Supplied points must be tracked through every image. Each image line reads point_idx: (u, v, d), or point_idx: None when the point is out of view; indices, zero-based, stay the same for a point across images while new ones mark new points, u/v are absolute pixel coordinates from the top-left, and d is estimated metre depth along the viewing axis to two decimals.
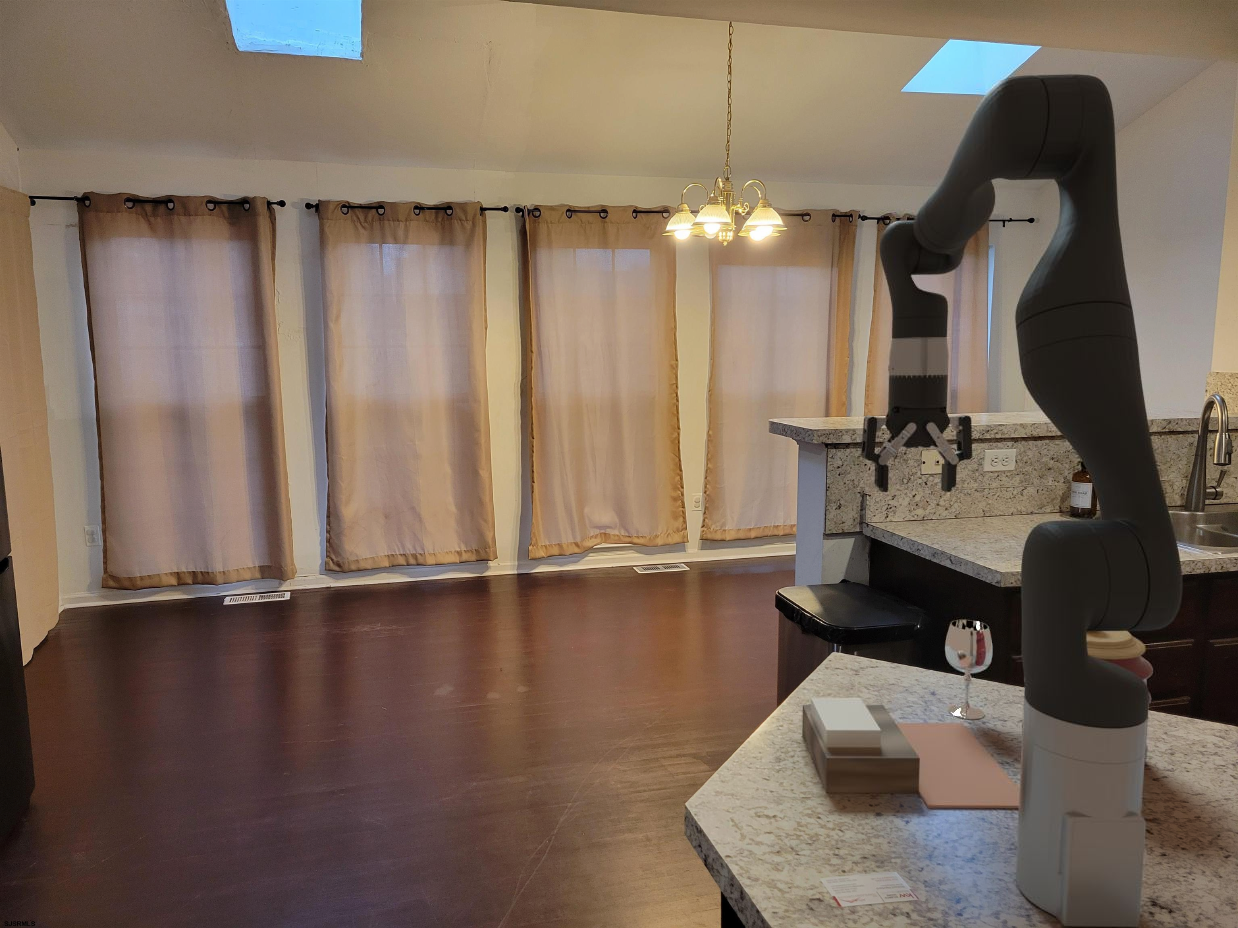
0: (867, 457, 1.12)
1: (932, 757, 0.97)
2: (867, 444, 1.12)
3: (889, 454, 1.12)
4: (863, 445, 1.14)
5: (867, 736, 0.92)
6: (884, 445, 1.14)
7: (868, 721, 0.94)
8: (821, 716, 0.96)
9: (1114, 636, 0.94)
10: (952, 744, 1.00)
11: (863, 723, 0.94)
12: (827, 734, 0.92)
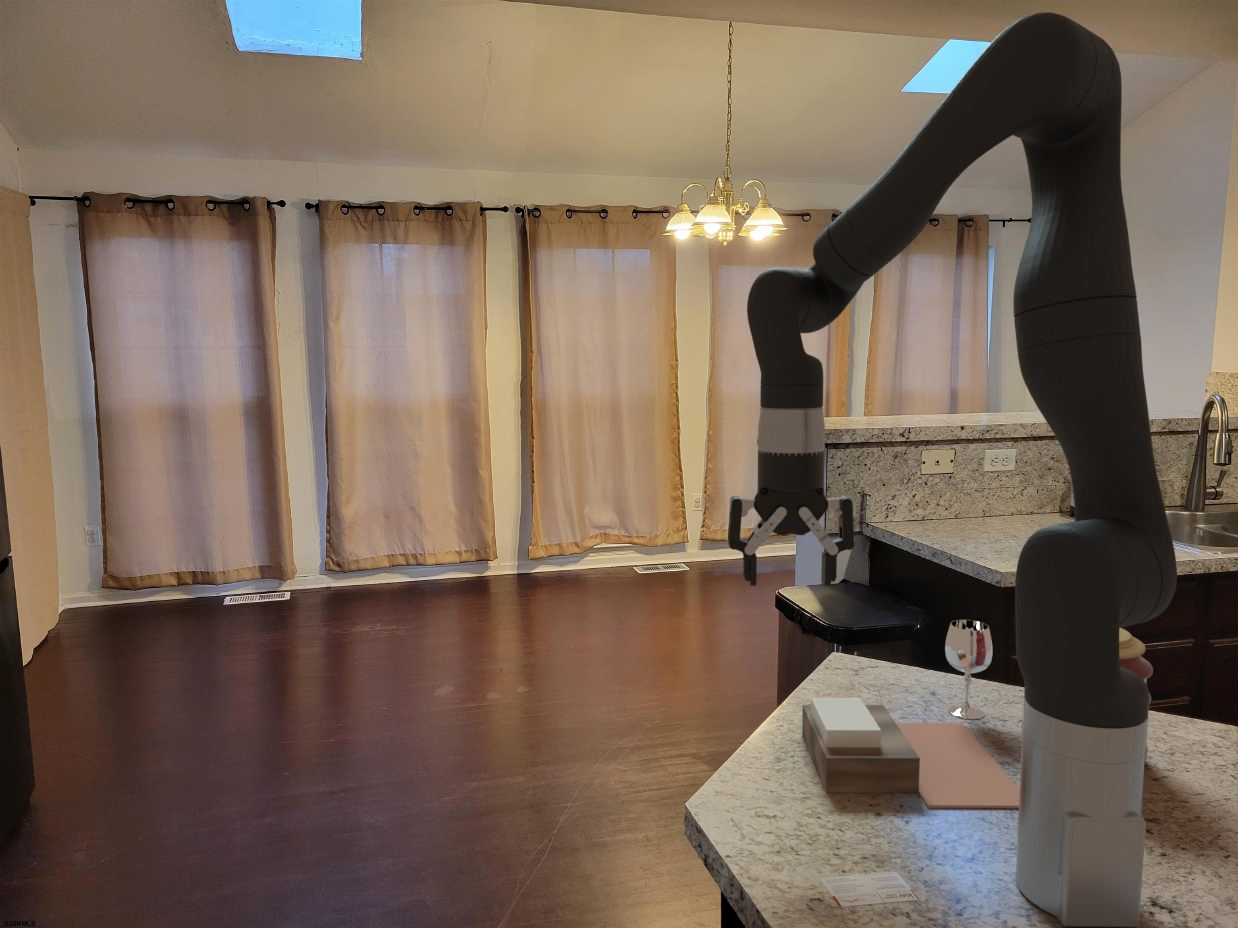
0: (731, 546, 0.95)
1: (932, 757, 0.97)
2: (731, 531, 0.95)
3: (756, 543, 0.95)
4: (729, 530, 0.97)
5: (867, 736, 0.92)
6: (754, 530, 0.97)
7: (868, 721, 0.94)
8: (821, 716, 0.96)
9: None
10: (952, 744, 1.00)
11: (863, 723, 0.94)
12: (827, 734, 0.92)
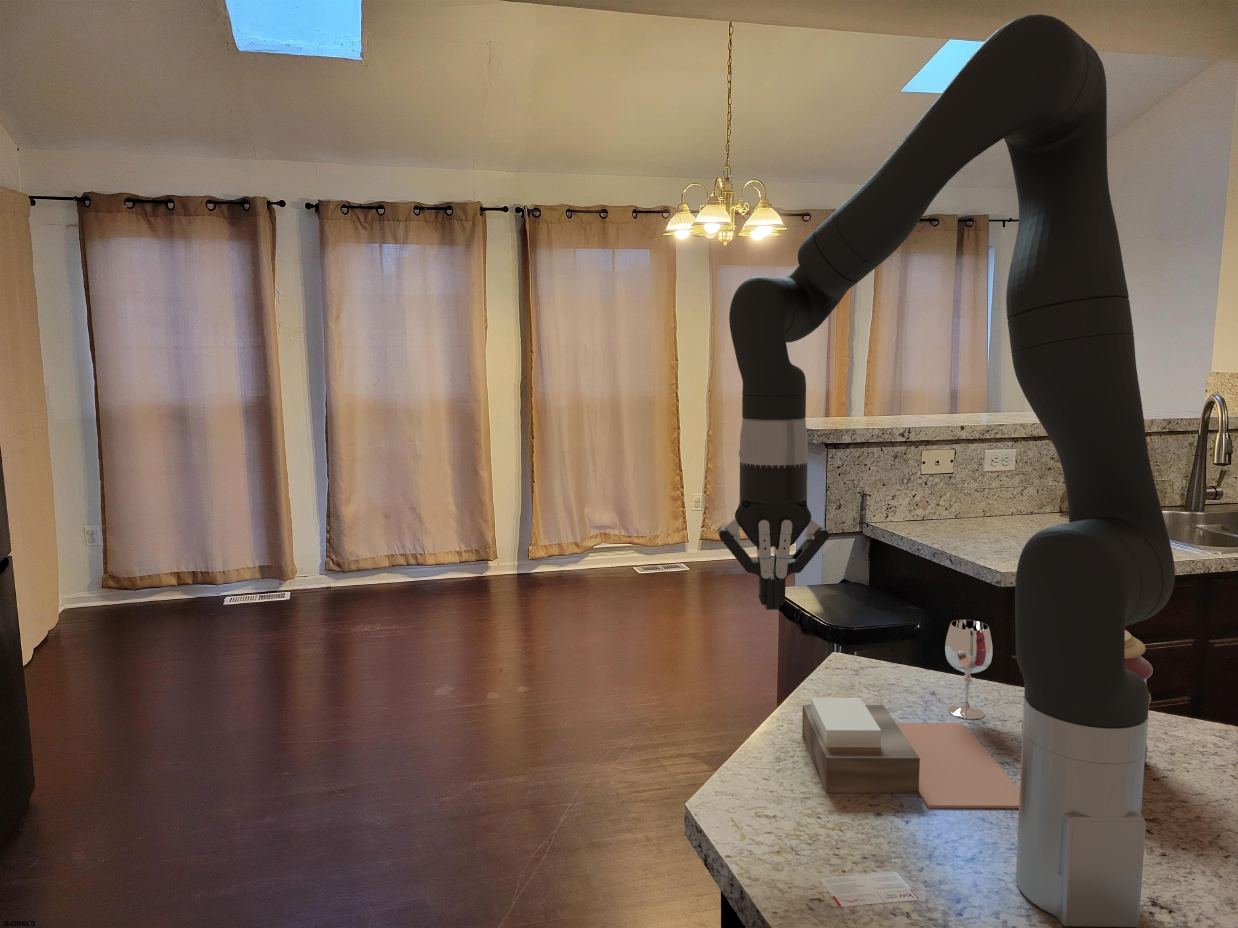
0: (747, 569, 0.93)
1: (932, 757, 0.97)
2: (738, 559, 0.93)
3: (766, 563, 0.93)
4: None
5: (867, 736, 0.92)
6: (757, 553, 0.95)
7: (868, 721, 0.94)
8: (821, 716, 0.96)
9: None
10: (952, 744, 1.00)
11: (863, 723, 0.94)
12: (827, 734, 0.92)
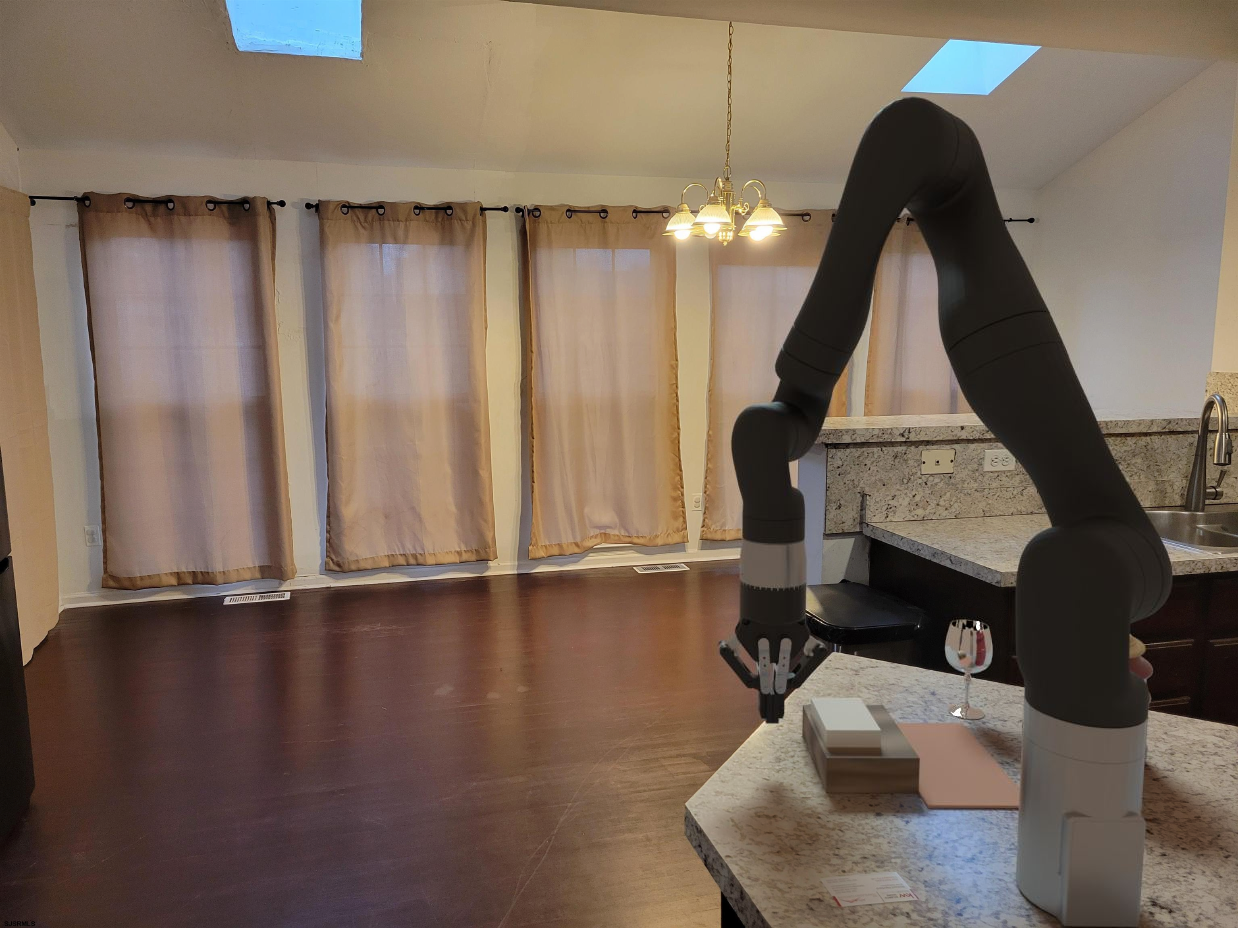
0: (747, 685, 0.95)
1: (932, 757, 0.97)
2: (739, 675, 0.95)
3: (766, 679, 0.95)
4: None
5: (867, 736, 0.92)
6: (757, 667, 0.97)
7: (868, 721, 0.94)
8: (821, 716, 0.96)
9: None
10: (952, 744, 1.00)
11: (863, 723, 0.94)
12: (827, 734, 0.92)
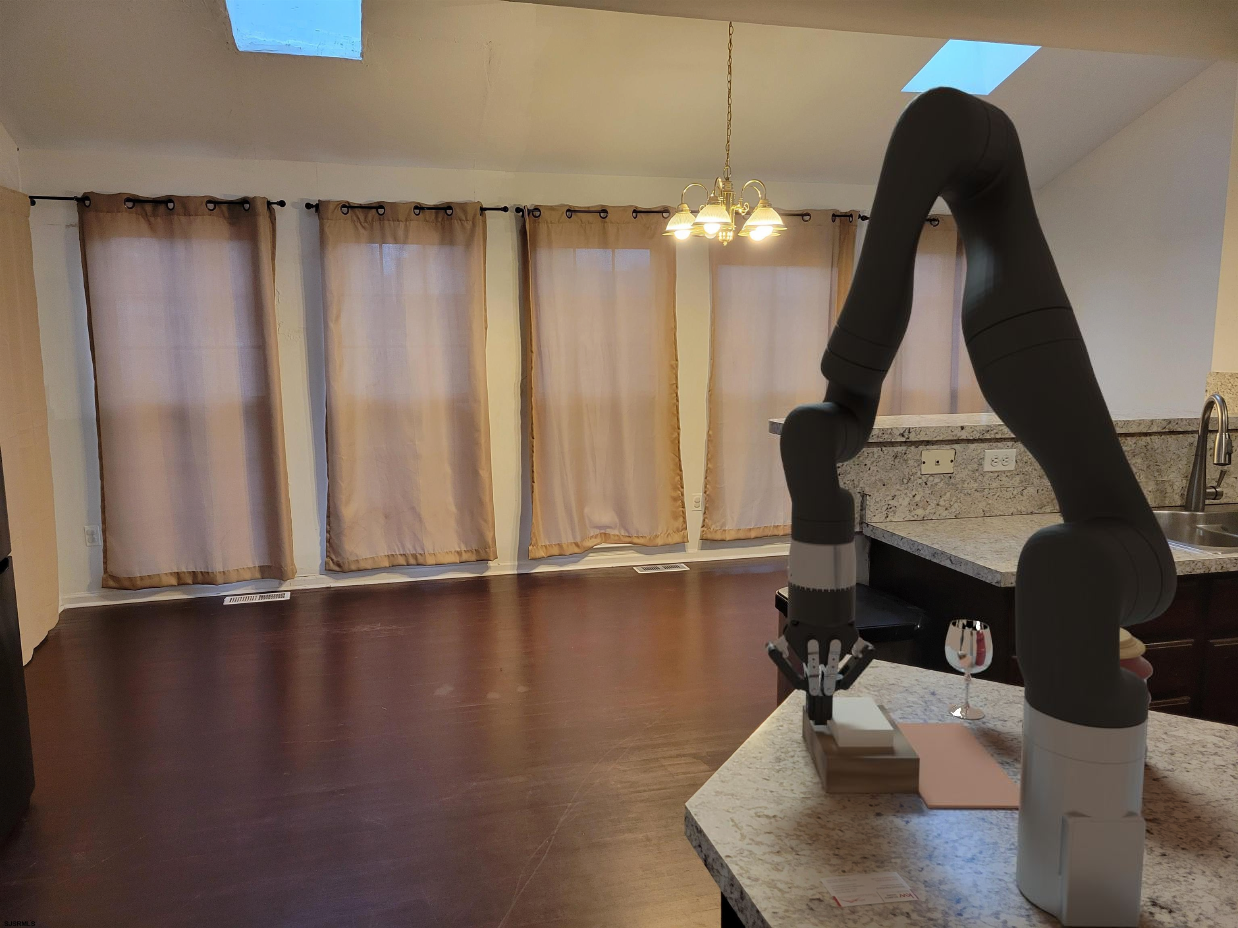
0: (796, 686, 0.95)
1: (932, 757, 0.97)
2: (787, 677, 0.95)
3: (815, 681, 0.95)
4: None
5: (879, 735, 0.92)
6: (804, 668, 0.96)
7: (880, 721, 0.94)
8: (833, 716, 0.96)
9: None
10: (952, 744, 1.00)
11: (875, 722, 0.94)
12: (839, 734, 0.92)
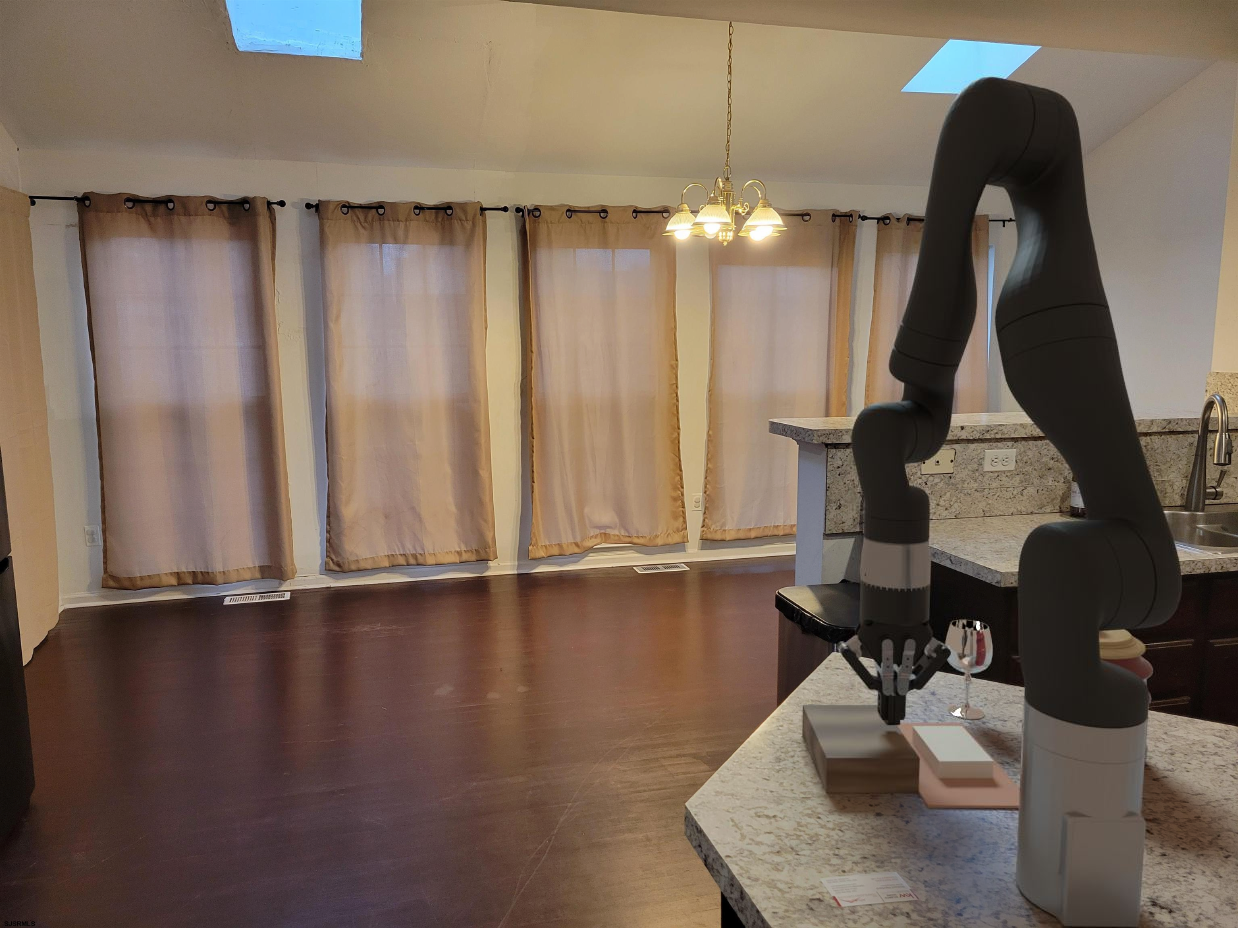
0: (869, 686, 0.94)
1: None
2: (861, 676, 0.94)
3: (888, 681, 0.94)
4: None
5: (952, 772, 0.92)
6: (876, 668, 0.96)
7: None
8: None
9: (1114, 636, 0.94)
10: None
11: None
12: (992, 773, 0.92)
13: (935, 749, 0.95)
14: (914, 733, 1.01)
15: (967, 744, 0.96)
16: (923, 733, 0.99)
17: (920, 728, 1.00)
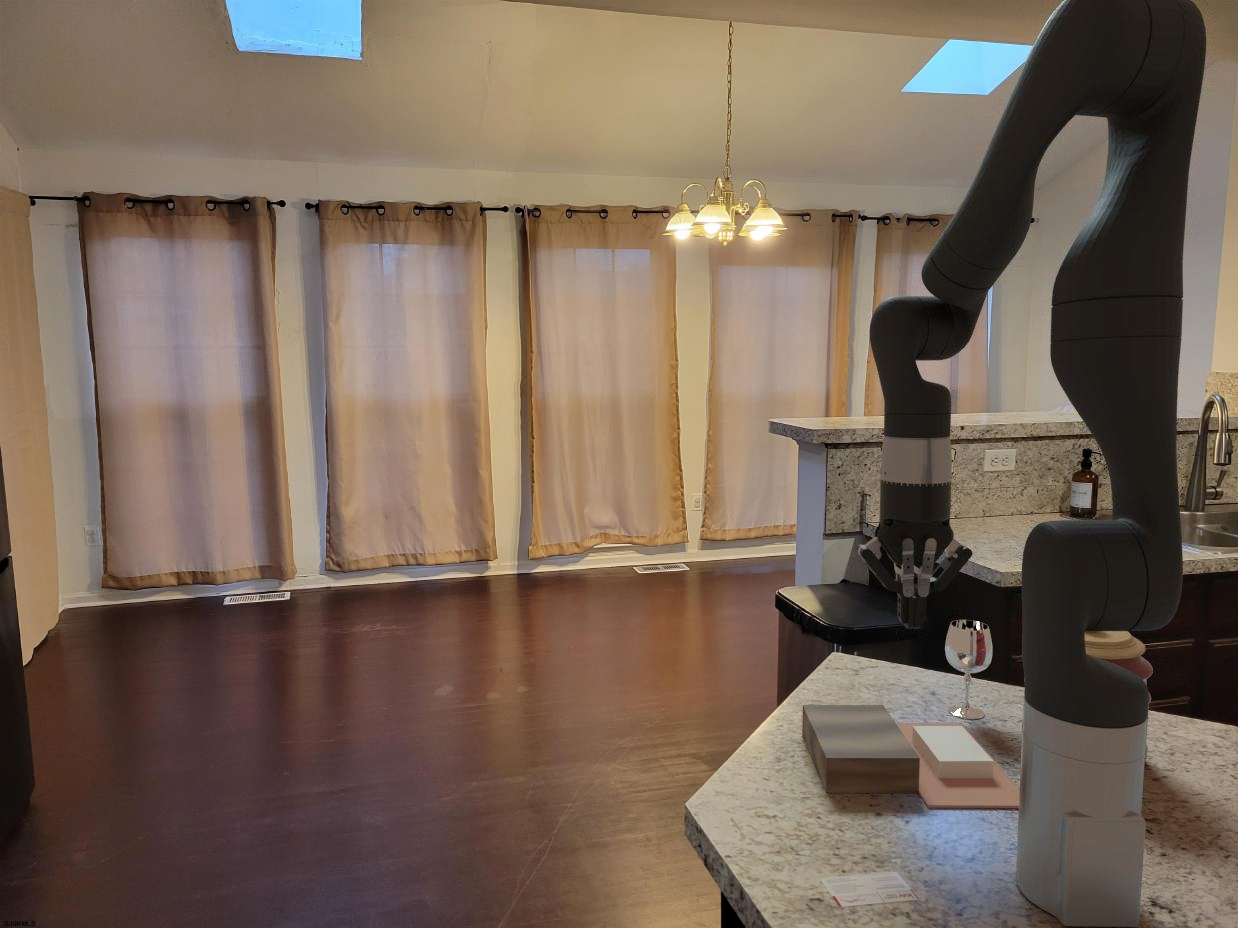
0: (889, 588, 0.93)
1: None
2: (880, 578, 0.93)
3: (909, 582, 0.93)
4: None
5: (952, 772, 0.92)
6: (896, 571, 0.95)
7: None
8: None
9: (1114, 636, 0.94)
10: None
11: None
12: (992, 773, 0.92)
13: (935, 749, 0.95)
14: (914, 733, 1.01)
15: (967, 744, 0.96)
16: (923, 733, 0.99)
17: (920, 728, 1.00)
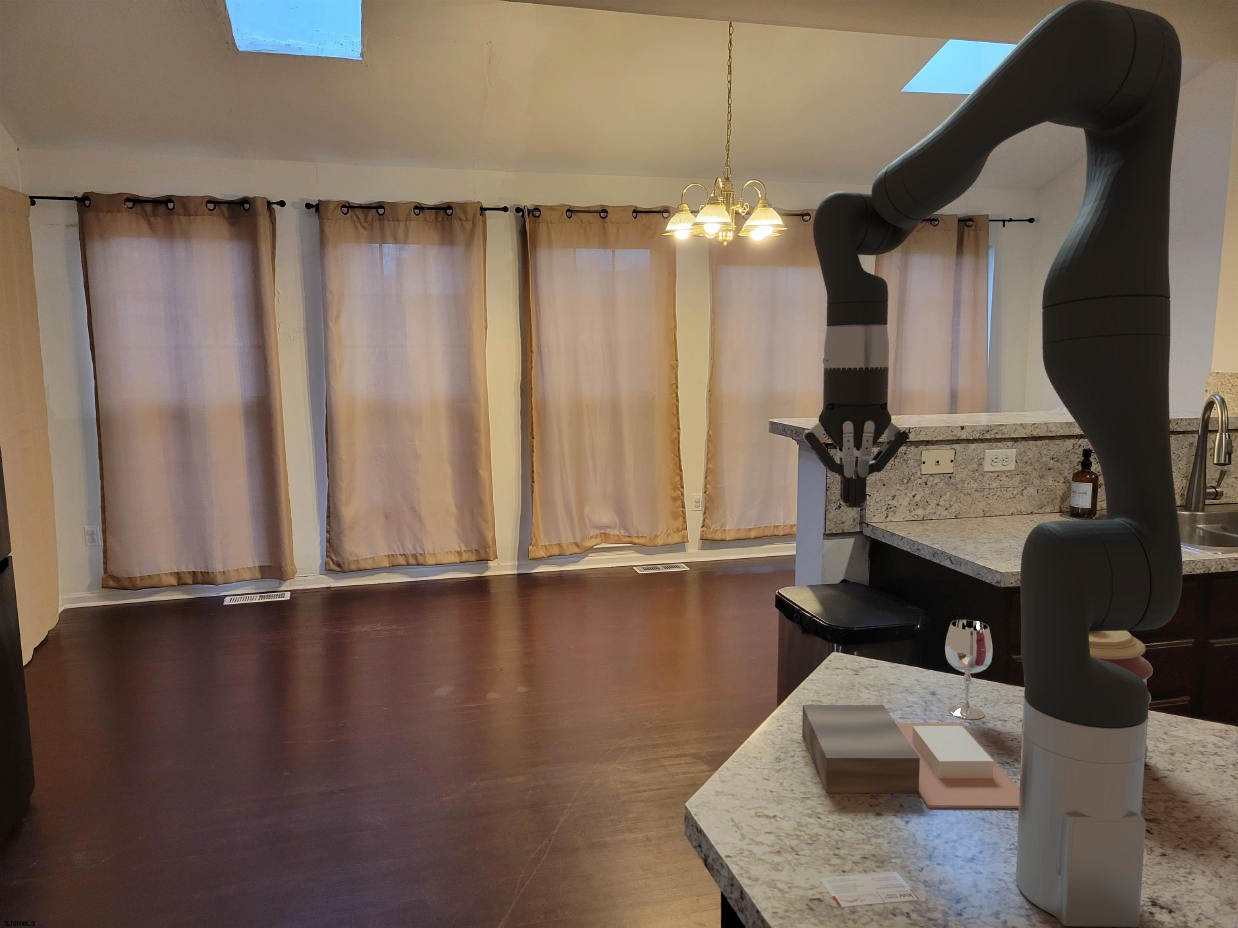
0: (831, 469, 1.00)
1: None
2: (823, 459, 1.00)
3: (849, 463, 1.00)
4: (821, 460, 1.02)
5: (952, 772, 0.92)
6: (839, 455, 1.01)
7: None
8: None
9: (1114, 636, 0.94)
10: None
11: None
12: (992, 773, 0.92)
13: (935, 749, 0.95)
14: (914, 733, 1.01)
15: (967, 744, 0.96)
16: (923, 733, 0.99)
17: (920, 728, 1.00)
